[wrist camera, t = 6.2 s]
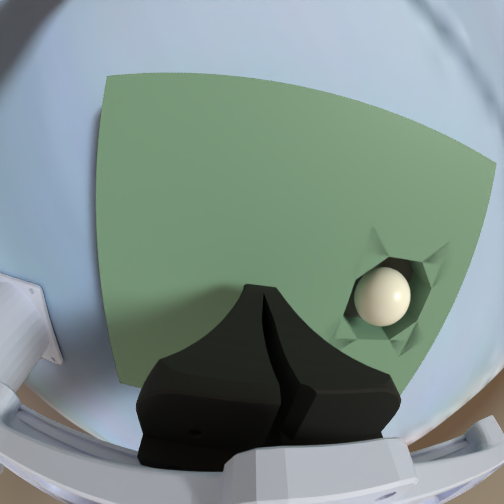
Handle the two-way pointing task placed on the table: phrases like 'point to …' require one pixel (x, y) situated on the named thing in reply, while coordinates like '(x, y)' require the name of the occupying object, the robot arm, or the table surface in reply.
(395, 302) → the ball
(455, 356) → the table surface
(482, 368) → the table surface
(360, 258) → the putting board
